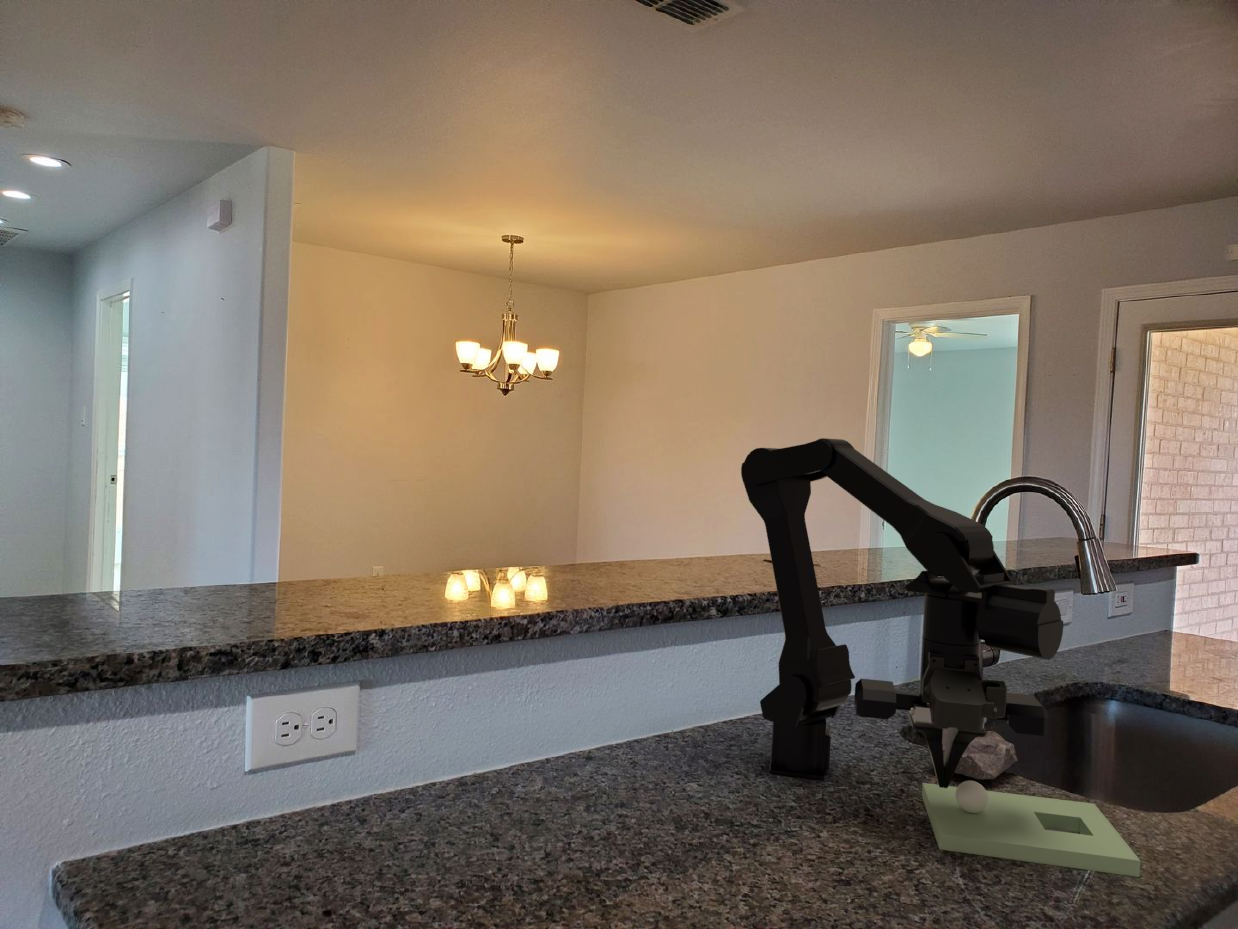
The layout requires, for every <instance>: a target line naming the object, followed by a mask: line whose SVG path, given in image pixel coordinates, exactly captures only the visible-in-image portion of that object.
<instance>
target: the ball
mask: <svg viewBox="0 0 1238 929" xmlns="http://www.w3.org/2000/svg"><path fill="white" fill-rule="evenodd" d="M956 787H957V789H956V793H955V797H956V801H957V803H958V805H959V806H960V807H961V808H962V809H963V810H965V811H967V812H969V813H978V812H980V811H982V810H983V809H984V808H985V807H986V805H987V803H988V795H987V792H986V791H987V790H986V788H985V787H984V786H983V785H982V784H980V783H979V782H977V781H975V780H965V781H962V782H961V783H959V785H958V786H956Z"/></svg>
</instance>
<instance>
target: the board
mask: <svg viewBox="0 0 1238 929" xmlns="http://www.w3.org/2000/svg"><path fill="white" fill-rule="evenodd" d="M921 785H922V786H921V787H922V788H921V798H922V800H923V805H924V807H925V809H926V812H927V816H928V819H929V822H930V825H931V828H932V831H933V833H934V837H935V840H936V843H937V846H938V849H939V850H943V851H950V852H958V853H965V854H970V855H980V856H985V857H994V858H1000V859H1005V860H1015V861H1022V862H1030V863H1036V864H1043V865H1048V866H1049V865H1050V866H1057V867H1064V868H1072V869H1079V870H1086V871H1091V872H1092V871H1094V872H1100V873H1108V874H1114V875H1115V874H1116V875H1122V876H1129V877H1137V878H1140V873H1141V859H1140V858H1139V857H1138V856H1137V854H1136V853H1135V852H1134V850H1132V848H1131V847H1130V846H1129V845H1128V843H1127V842H1126V841H1125V839H1123V837H1122V836H1121V835H1120V834H1119V832H1118V831H1117V830H1116V828H1115V827H1114V826H1113V825H1112V823H1111V822H1110V821H1109V819H1107V817H1106V816H1105V815H1104V814H1103V813H1102V812H1101V810H1100V809H1099V808H1098V806H1097V805H1096V804H1095V803H1090V802H1082V801H1074V800H1065V799H1057V798H1051V797H1044V796H1043V797H1041V796H1034V795H1026V794H1018V793H1010V792H1009V793H1008V792H1000V791H991V790H986V792H987V795H988V803H987V805H986V807H985V808H984V809H983V810H982V811H980V812H978V813H969V812H967V811H965V810H963V809H962V808H961V807H960V806H959V805H958V803H957V801H956V797H955V793H956V789H957V787H958V786H950V785H949V786H948V788H940V787H939V785H938V784H936V783H926V782H922V784H921Z"/></svg>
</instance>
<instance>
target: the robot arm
mask: <svg viewBox="0 0 1238 929" xmlns="http://www.w3.org/2000/svg"><path fill="white" fill-rule="evenodd" d="M740 472H741V474H740V475H741V479H742V483H743V485H744V488H745V492H746V495H747V498H748V500H749V502H750V504H751V506H752V507H753V508H754V509H755V511H756V512H757V513H758V515H759V517H760V518H761V519H762V520H763V523H764V526H765V531H766V537H767V542H768V548H769V554H770V558H771V564H772V570H773V576H774V581H775V587H776V592H777V597H778V603H779V609H780V614H781V620H782V625H783V630H784V643H783V646H782V650H781V653H780V657H779V660H778V685H777V686H775V687H774V688H773V689H772V690H771V691H770V692H768V694H766V695H765V696H764V697H762V699H760V701H759V704H760V710H761V715H762V718H763V719H764V720H766V721H769V722H771V723H772V733H771V738H772V739H771V749H770V750H771V752H770V760H769V766H768V767H769V768H768V773H770V774H775V775H780V776H781V775H782V776H790V777H798V778H799V777H800V778H806V779H813V780H822V781H823V780H826V771H829V769H830V762H831V760H830V757H831V741H832V735H831V730H830V729H827V719H830V718H835V717H837V715H838V713H839V710H840V708H841V706H842V705H843V704H844V703H846V701H847V699H848V698H849V696H850V695H851V693H852V689H853V688H852V680H854V679H855V678H856V676H855V673H854V672H853V670H852V666H851V665H850V651H849V648H848V646H847V644H845V643H844V644H838V645H836V643H835V642H834V640H833V639H832V638H831V636H830V635H829V634H828V632H827V628H826V622H825V618H824V613H823V608H822V603H821V602H822V601H821V597H820V593H819V592H820V591H819V588H818V587H819V586H818V581H817V576H816V575H817V574H816V570H815V566H814V564H815V563H814V560H813V555H812V549H811V544H810V538H809V533H808V528H807V524H806V516H805V514H806V510H807V508H808V505H809V501H810V497H811V494H812V490H811V489H812V488H811V487H812V486H811V484H812V483H811V482H816V481H819V480H822V479H825V478H828V479H830V480H831V481H833V482H834V483H835V484H837V485H838V486H839V487H840V488H842V489H843V490H844V491H845V492H846V493H848V494H849V495H850V496H852V497H853V498H854V499H856V500H857V501H859V503H861V504H862V505H864V506H865V507H866V508H867V509H869V511H872V512H873V513H874V514H875V515H876V516H878V517H879V518H881V519H882V520H883V521H884V522H886V523H887V524H888V525H890V526H891V527H892V529H894V530H895V531H896V533H898V534H899V536H900V538H901V539H902V542H903V544H904V546H905V548H906V550H907V551H908V552H909V553H910V555H912V556H913V557H914V558H915V560H916V561H918V563H919V564H920V565H921V566H922V567H923V568H924V569H925V570H921V571H920V573H919V574H918V575H917V577H915V578H914V579H913V580H911V581H910V582H909V583H907V584H906V585H905V590H906V591H907V592H911V593H918V594H922V595H924V603H923V604H924V605H923V622H922V636H921V656H920V657H921V658H920V672H919V673H920V674H919V690H918V691H919V692H908V691H901V690H900V691H897V690H896V687H895V685H894V682H893V681H890V680H880V679H879V680H878V679H871V678H860V679H859V680H858V681H857V682H856V683H855V686H854V701H853V702H854V707H855V715H856V716H858V717H861V718H870V719H879V720H886V721H887V720H889V719H890V718H892V717H893V716H894V715H895V714H896V713H897V710H901V711H907V717H908V720H909V723H910V725H911V727H912V729H913V730H916V731H922V732H923V736H924V738H925V740H926V743H927V747H928V748H929V750H928V752H929V751H930V754H931V756H930V759H931V758H932V760H931V762H933V763H932V766H933V769H934V774H935V778H936V780H937V785H939V787H940V788H948V786H950V783H951V782H952V779H953V776H954V774H955V773H954V772H955V770H956V768H957V766H958V763H959V761H960V759H961V757H962V755H963V753H964V751H965V750H966V748H967V747H968V745H969V744H970V743H971V742H972V741H973V740H974V739H975V738H976V737H986V735H987V729H986V727H985V723H987V720H994V721H995V720H996V721H1006V723H1007V724H1008V726H1009V727H1010V728H1011V729H1012V730H1013V732H1014V733H1015V734H1021V735H1030V736H1040V737H1045V736H1048V735H1049V723H1050V722H1049V721H1050V718H1049V712H1048V711H1047V709H1046V708H1045V707H1044V706H1043V705H1042V703H1040V702H1039V701H1038V699H1036V697H1035V696H1034V695H1033V694H1023V693H1016V692H1015V693H1014V692H1007V686H1006V683H1005V681H1003V680H995V679H994V680H992V679H985V680H984V679H982V676H981V672H980V654H981V652H980V651H981V650H980V649H981V641H984V644H986V646H987V647H988V648H989V649H994V650H998V651H1004V652H1008V653H1013V654H1018V655H1023V656H1028V657H1033V658H1036V659H1037V658H1039V659H1043V660H1048V661H1049V660H1051V659H1053V658H1054V657H1055V655H1056V654H1057V653H1058V651H1059V648H1060V646H1061V643H1062V638H1063V635H1064V634H1063V633H1064V620H1062V614H1061V611H1060V610H1061V609H1060V607H1059V605H1058V603H1057V602H1056V601H1055V598H1056V597H1055V596H1056V591H1055V589H1054V588H1050V587H1049V588H1048V587H1042V586H1040V587H1028V586H1022V585H1015V582H1014V580H1013V578H1012V577H1011V575H1010V574H1009V572H1008V571H1007V568H1005V566H1004V564H1003V563H1002V561H1001V560H1000V557H998V555H997V553H996V551H995V550H994V549H995V546H994V542H993V535H992V533H991V531H990V530H989V529H988V528H987V527H986V526H985V525H983V524H982V523H980V522H978V521H976V520H974V519H971V518H969V517H967V516H966V515H963V514H961V513H959V512H958V511H955V510H951V509H948V508H946V507H943V506H940V505H937V504H935V503H933V502H930V501H928V500H926V499H925V498H923V497H922V496H920V495H919V494H917V492H915V491H914V490H912V489H911V488H909V487H908V486H907V485H905V484H904V483H902V482H901V481H899V480H898V479H897V478H895V477H894V476H893V475H891V474H890V473H888V472H887V471H886V470H885V469H883V468H882V467H880V465H879V466H878V464H876V463H875V462H873V460H871V459H869V458H868V457H866V456H865V455H864V454H862V453H861V452H860V451H858V450H857V449H856V448H855V447H854V446H853V445H852V444H851V443H850V442H849V441H847V440H845V439H840V438H839V439H838V438H827V437H826V438H824V437H823V438H819V439H816V440H814V441H811V442H806V443H803V444H797V445H794V446H793V445H792V446H788V447H782V448H775V447H773V448H772V447H756V448H755V449H753V450H751V451H750V452H749V453H748V454H747V455H746V457H745V460H744V461H743V462H742V463H741V468H740ZM975 574H976V575H975ZM943 578H944V579H943ZM944 728H945V729H948V731H947V739H946V746H945V753H944V760H943V745H942V735H943V729H944ZM930 754H929V755H930Z"/></svg>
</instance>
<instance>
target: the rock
mask: <svg viewBox="0 0 1238 929" xmlns="http://www.w3.org/2000/svg"><path fill="white" fill-rule="evenodd" d="M947 731H948V729H945V728H943V735H942V745H943V760H944V753H945V746H946V739H947ZM986 731H987V730H986ZM928 754H929V756H930V759H931V762H932V758H931V754H930V751H929V747H928ZM1018 761H1019V760H1018V758H1017V755H1016V749H1015V744H1013V743H1011V742H1008V740H1007V741H1006V740H1005V738H1003V737H1002V736H1001V735H1000V734H999V733H997V732H995V731H994V730H993V731H990V730H988V731H987V735H986V737H976V738H975V739H974V740H973V741H972V742H971V743H970V744H969V745H968V747H967V748H966V750H965V751H964V753H963V755H962V757H961V759H960V761H959V763H958V766H957V768H956V770H955V772H954V774H961V775H963V776H965V777H970V778H974V779H976V780H995V779H996V778H997V777H998V776H1000V775H1001V774H1002V773H1003V772H1004V771H1006V770H1008V769H1009V768H1010V767H1011V766H1012V764H1013V763H1016V762H1018ZM932 764H933V762H932Z"/></svg>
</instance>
